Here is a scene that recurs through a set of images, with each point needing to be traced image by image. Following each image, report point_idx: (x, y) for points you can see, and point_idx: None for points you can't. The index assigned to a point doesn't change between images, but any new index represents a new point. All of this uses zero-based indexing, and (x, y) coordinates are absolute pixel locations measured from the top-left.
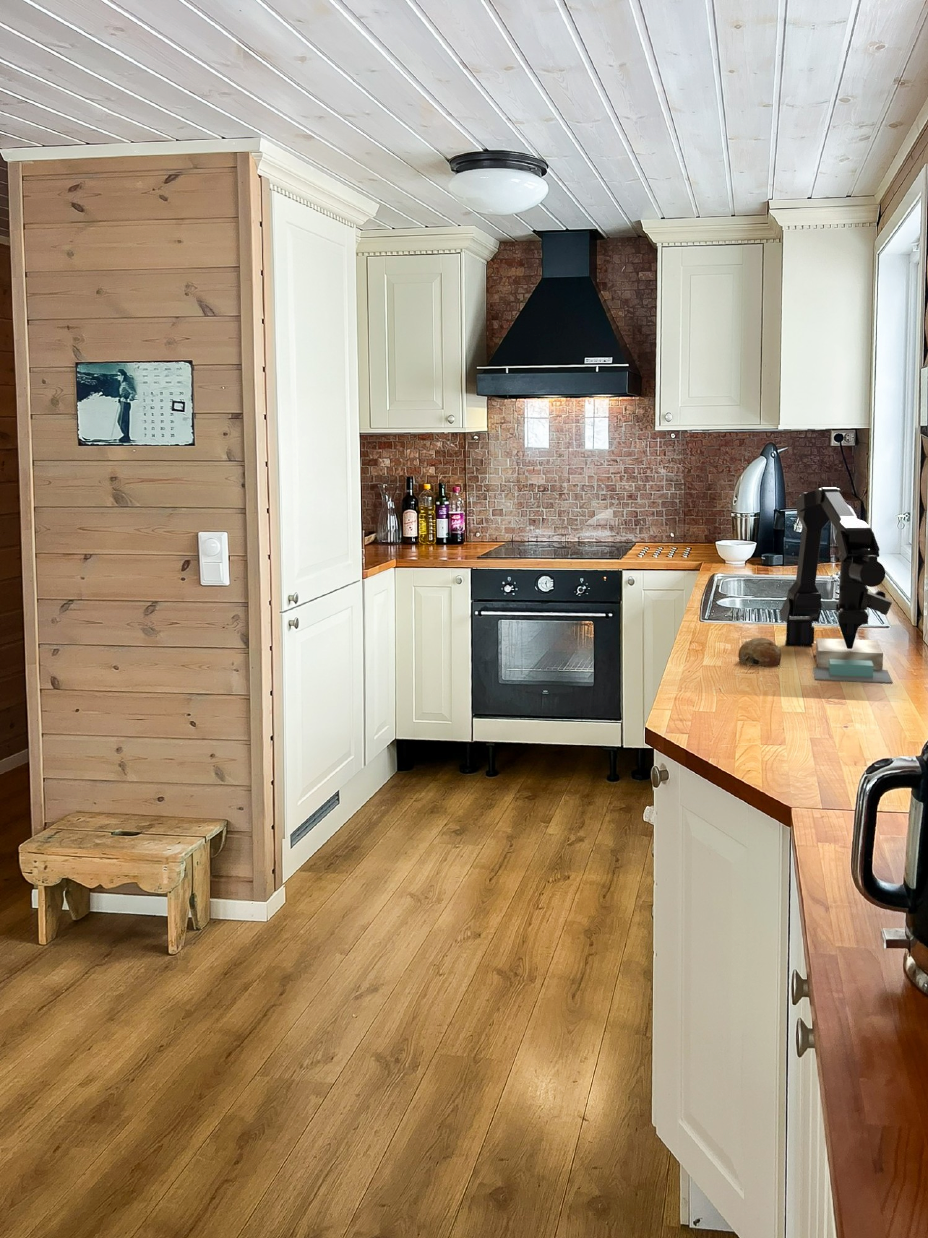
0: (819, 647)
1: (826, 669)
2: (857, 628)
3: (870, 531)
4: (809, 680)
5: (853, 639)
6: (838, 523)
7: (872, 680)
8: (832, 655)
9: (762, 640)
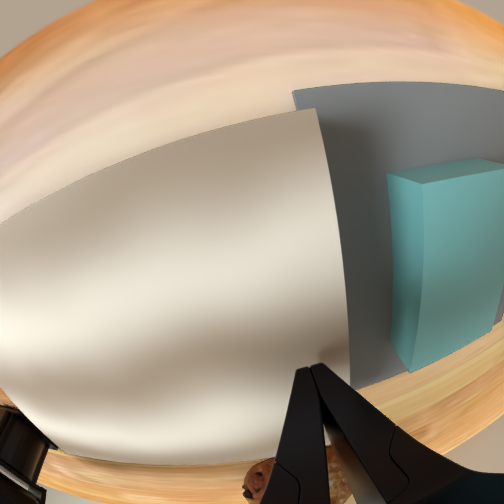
0: (255, 457)
1: (381, 352)
2: (460, 468)
3: None
4: (498, 326)
5: (371, 408)
6: None
7: None
8: None
9: None
